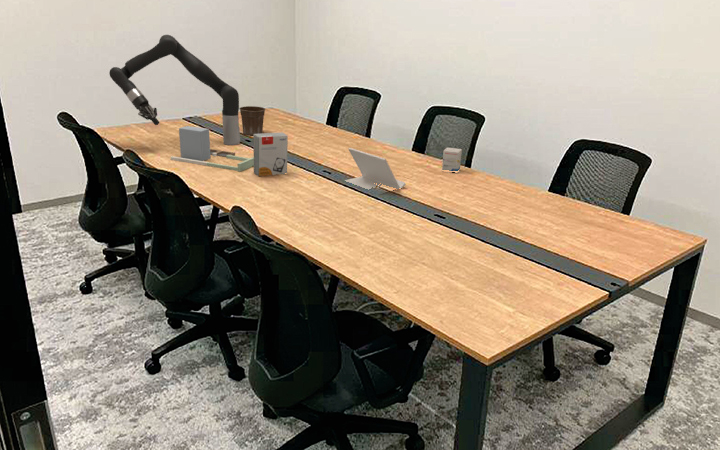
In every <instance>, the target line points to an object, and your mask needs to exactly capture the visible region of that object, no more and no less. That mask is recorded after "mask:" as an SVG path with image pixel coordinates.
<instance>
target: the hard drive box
mask: <svg viewBox="0 0 720 450" xmlns="http://www.w3.org/2000/svg"><path fill="white" fill-rule="evenodd" d="M252 136H253V137H252V138H253V139H252V140H253V142H252V143H253V144H252V145H253V150H252V151H253V157H254V166H253V173H254V174H255V175H256V176H257V177H267V175H268V176H277V175H276V174H282V175H286V174H285V173H287V174H288V142H289V141H288V140H289V139H288V137H289V136H288V134H286V133H284V132H268V133H267V132H264V133H263V132H262V134H253V135H252Z"/></svg>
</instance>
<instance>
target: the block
mask: <svg viewBox="0 0 720 450" xmlns="http://www.w3.org/2000/svg"><path fill="white" fill-rule="evenodd" d="M178 135H179V148H180V149H179V151H180V158H186V159H192V160H198V161H204V162H206V161H207V160H210V159H211V156H212V155H210V149H211V142H210V128H206V127H204V128H203V127H198V126H189V125H186V126H182V127H180V128H178Z"/></svg>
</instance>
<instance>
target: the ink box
mask: <svg viewBox="0 0 720 450" xmlns="http://www.w3.org/2000/svg"><path fill="white" fill-rule="evenodd" d="M462 153H463V149H461V148H455V147H446V148H445V149H443V153H442V154H443V155H442V163H441V164H442V166H441V171H442V170H449V171H458V170H459V169H460V170H461V162H462Z"/></svg>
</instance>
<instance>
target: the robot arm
mask: <svg viewBox="0 0 720 450" xmlns="http://www.w3.org/2000/svg"><path fill="white" fill-rule="evenodd" d="M170 55H171V56H173V58H175V59H177V60H178V61H179V62H180V63H181V65H182V66H183V67H184V68H185V70H187V71H188V73H189V74H190V75H192V76H193V77H194V78H196V79H197V80H198V81H200V83H203V84H204V85H206V86H207V87H209V88H211V89H212V90H213V91H214V92H215V93H216V95H218V96H219V97H220V98H221V99H222V110H221V115H222V117H221V118H222V139H223V144H224V145H228V146H236V145H239V144H240V143H241V132H240V131H241V129H240V121H239V111H240V109H239V108H240V94H239V92H238V90H237V89H236V88H234V87H233V86H232V85H230V84H228V83H226V82H225V81H223V80H222V79H221V78H220V77H219V76H218V75H217V74H216V73H215V72H214V70H213V69H212V68H211V67H209V66H208V65H207V64H206V63H204V61H202V60H201V59H199V58H198V57H197V56H195V55H194V54H192V53H191V52H190V51H188V50H187V48H185V47H184V46H183V45H182V44H181V43H180V42H179V41H178V40H177V39H176V38H175V37H174V36H172V35H170V34H163V35H161V37H160V38H159V41H158V43H157V44H155V46H153V47H152V48H150V49H148V50H147V51H144V52H142V53H140V54H137V55H135V56H134V57H132V58H130V59H128V60H127V61H126V62H125V64H124V66H123V67H121V68H120V67H118V66H115V67H114V66H113V67H111V69H109V74H108V75H109V77H110V79H112V81H113V82H114V83H115V84H116V85H117V86H118V87H119V88H120V89H121V90H122V92H123V93H124V94H125V96H126V97H127V98H128V100H129V101H130V103H131V104H132V105H133V106H134V108H135V109H136V110H138V116H140V117H142V118H143V119H145V120H147V121H149V120H150V121H151V122H152V123H153V124H154V125H155V126H158V125H159V124H160V121H159V119H158V118H157V116H158V111H157V110H158V109H157V107H152V106H151V105H150V104H149V100H148V99H147V98H146V96H145V95H144V93H142V92H141V90H139V88H138V87H137V86H136V84H135V83H134V82H133V81H132V80H131V79H130V78H131V77H132V76H134V75H135V74H136V73H138V72H139V71H141V70H143V69H144V68H146V67H147V66H149V65H150V64H152V63H154V62H156V61H158V60H160V59H163V58H165V57H167V56H170Z"/></svg>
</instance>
